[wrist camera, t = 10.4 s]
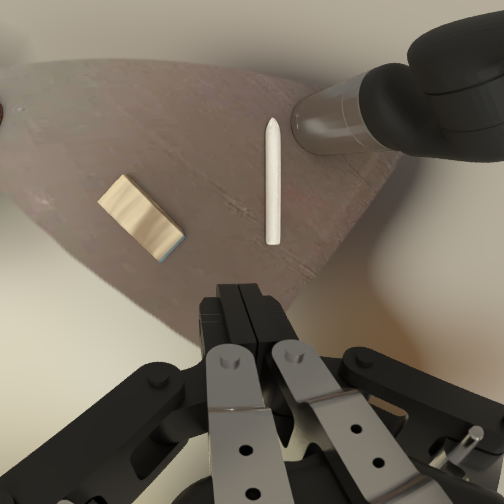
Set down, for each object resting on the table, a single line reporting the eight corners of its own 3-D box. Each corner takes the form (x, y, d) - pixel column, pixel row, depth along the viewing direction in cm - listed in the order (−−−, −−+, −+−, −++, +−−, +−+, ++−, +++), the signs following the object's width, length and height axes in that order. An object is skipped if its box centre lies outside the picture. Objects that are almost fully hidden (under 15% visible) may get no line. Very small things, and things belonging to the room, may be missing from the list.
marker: (263, 117, 42) (268, 115, 39) (277, 118, 42) (283, 116, 40) (263, 242, 46) (268, 245, 44) (277, 241, 47) (283, 244, 44)
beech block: (186, 237, 38) (122, 174, 34) (160, 263, 38) (97, 201, 34) (183, 231, 42) (127, 174, 38) (161, 254, 42) (104, 199, 38)
